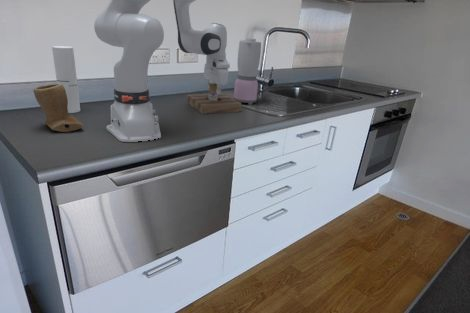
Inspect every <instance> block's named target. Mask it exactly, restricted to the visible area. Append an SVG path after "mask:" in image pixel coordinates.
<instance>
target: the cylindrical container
mask: <svg viewBox="0 0 470 313" xmlns="http://www.w3.org/2000/svg"><path fill="white" fill-rule="evenodd" d="M51 50H52V56H53V63H54V64H53V65H54V70H55V76H56V78H55V80H56V84H62V85H63V86H64V88H65V91H66V94H67V98H68V106H67V107H68V114H75V113H79V112H81V104H80V97H79V94H80V93H79V88H78V86H79V85H78V77H77V71H76V70H77V69H76V61H75V60H76V58H75V53H74V52H75V51H74V47H73V46H67V45H53V46H51Z"/></svg>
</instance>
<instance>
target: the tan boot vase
mask: <svg viewBox="0 0 470 313" xmlns="http://www.w3.org/2000/svg"><path fill="white" fill-rule="evenodd" d="M33 94H34V98H35V99H36V102H37V103H38V105H39V106H40V108H41V109H42V111H43V112H44V114H45V116H46V119H45V120H44V122H45V125H47V126H48V127H49V128H50V129H51V130H52V131H56V132H60V133H61V132H63V133H68V132H74V131H77V130H79V129H82V128H83V127H84V125H83V124H82V123H81V121H79V120H78V119H77V118H76V117H74V116H73V115H69V113H68V107H67V106H68V98H67V94H66V91H65V88H64V86H63V85H62V84H57V83H50V84H44V85H39V86H36V87H34V88H33Z"/></svg>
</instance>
